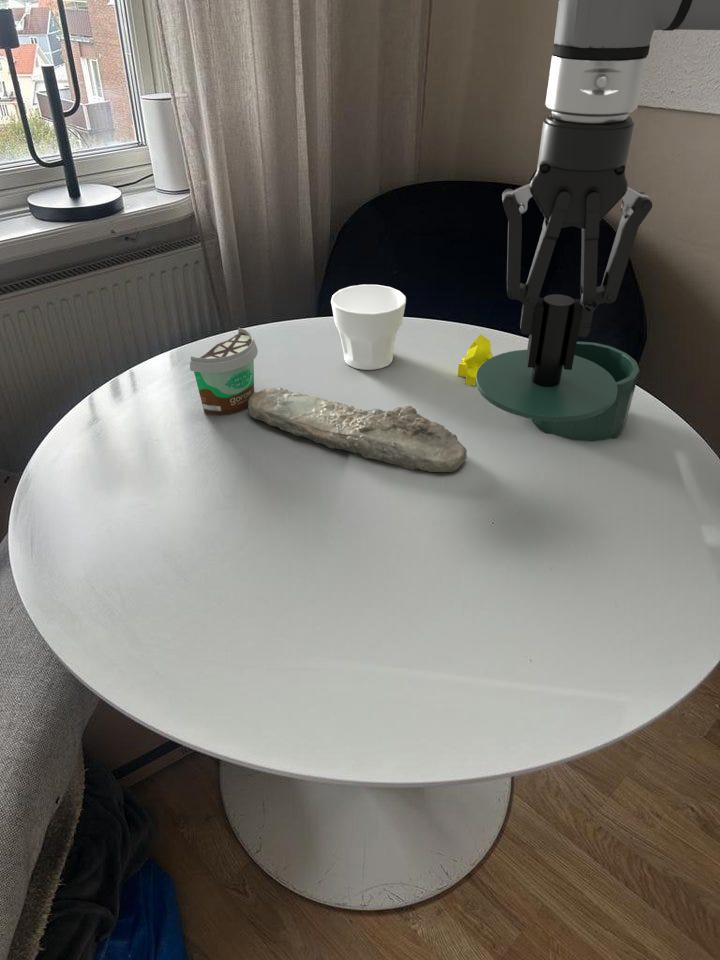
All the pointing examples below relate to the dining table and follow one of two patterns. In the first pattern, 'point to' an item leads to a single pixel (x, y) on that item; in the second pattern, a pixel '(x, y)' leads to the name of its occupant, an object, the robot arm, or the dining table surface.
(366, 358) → the cup
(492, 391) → the pot lid
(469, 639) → the dining table surface
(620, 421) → the pot
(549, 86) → the robot arm
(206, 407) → the food container
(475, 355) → the yellow faceted cluster
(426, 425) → the elongated rock
